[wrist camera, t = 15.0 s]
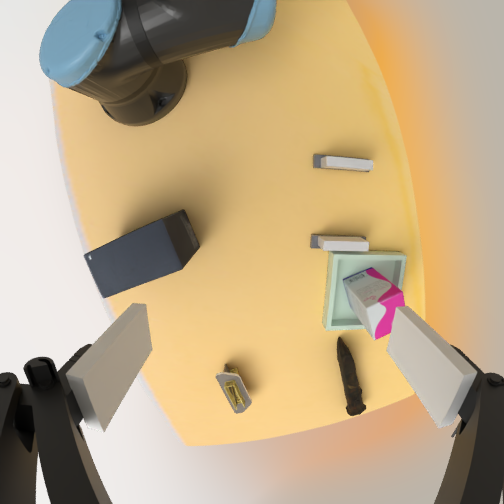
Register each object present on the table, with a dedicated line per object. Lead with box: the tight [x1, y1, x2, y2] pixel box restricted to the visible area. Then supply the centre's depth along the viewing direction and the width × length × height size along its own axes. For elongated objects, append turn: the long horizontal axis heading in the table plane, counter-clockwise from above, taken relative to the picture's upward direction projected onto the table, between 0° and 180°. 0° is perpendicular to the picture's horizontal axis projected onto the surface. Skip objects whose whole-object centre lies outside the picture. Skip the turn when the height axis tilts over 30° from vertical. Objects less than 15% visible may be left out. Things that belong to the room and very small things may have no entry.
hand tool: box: [337, 337, 366, 416], centre depth 49 cm, size 19×4×5 cm, turn 17°
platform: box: [216, 364, 252, 413], centre depth 49 cm, size 12×18×7 cm, turn 19°
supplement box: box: [342, 267, 405, 340], centre depth 41 cm, size 6×6×12 cm
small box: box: [84, 210, 200, 298], centre depth 40 cm, size 13×7×12 cm, turn 111°
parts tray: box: [322, 251, 406, 331], centre depth 45 cm, size 13×13×3 cm
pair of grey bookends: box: [310, 155, 373, 251], centre depth 41 cm, size 14×9×5 cm, turn 179°
